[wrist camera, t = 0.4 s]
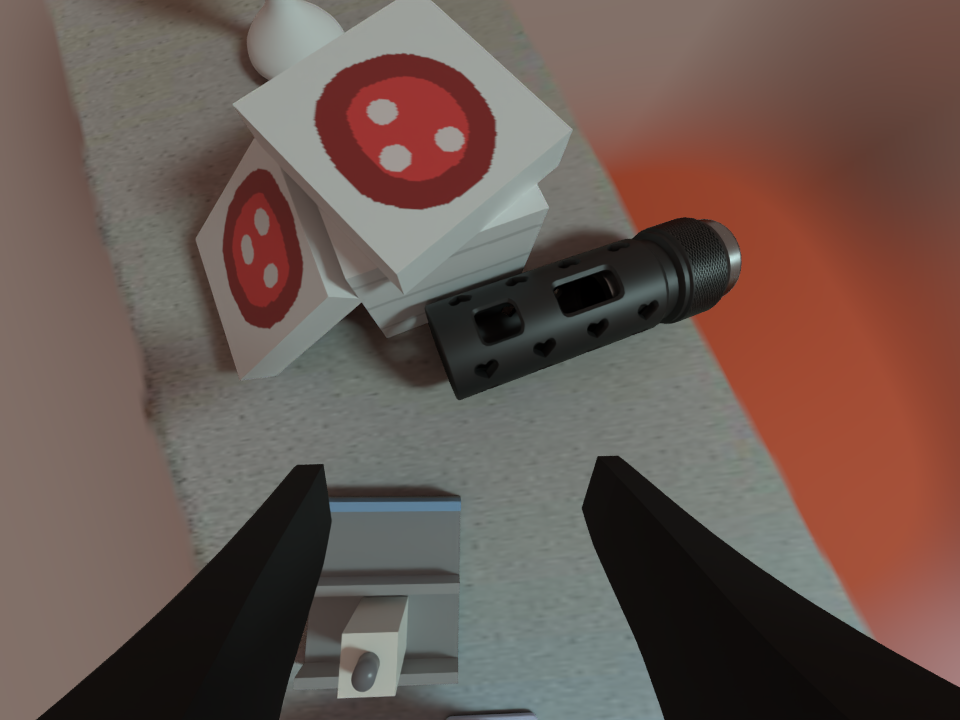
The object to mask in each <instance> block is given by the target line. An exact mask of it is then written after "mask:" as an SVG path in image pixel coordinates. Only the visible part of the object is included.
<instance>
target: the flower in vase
mask: <svg viewBox="0 0 960 720" xmlns="http://www.w3.org/2000/svg"><path fill="white" fill-rule="evenodd" d="M342 34H344V31H343V29H342V28H341V26H340V25H339V23H338V22H337V21H336V20H335V18H334V17H333V16H331V15H330V14H329V13H327V12H326V11H324V10H323V9H321V8H320V7H318V6H316V5H314V4H312V3H309V2H307V1H304V0H265V4H264V6H263V7H262V8H261V10H260V11H259V12H258V14H257V15H256V16H255V18H254V20H253V21H252V24H251V26H250V29H249V32H248V35H247V49H248V55H249V58H250V61H251V63H252V65H253V67H254V68H255V69H256V70H257V72H258V73H259V74H261V75H262V76H263V77H264V78H266V79H267V80H269V81H270V80H271V79H273V78H274V77H276V76H277V75H279V74H281V73H282V72H284V71H285V70H287V69H288V68H290V67H292V66H293V65H295V64H296V63H298V62H299V61H301V60H303V59H304V58H306V57H307V56H309V55H310V54H312V53H314V52H315V51H317V50H318V49H320V48H321V47H323V46H325V45H326V44H328V43H329V42H331V41H333V40H334V39H336V38H337V37H339V36H340V35H342Z"/></svg>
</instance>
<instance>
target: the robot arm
mask: <svg viewBox="0 0 960 720" xmlns="http://www.w3.org/2000/svg"><path fill="white" fill-rule="evenodd" d="M582 511H583V514H584V517H585V521H586V524H587V527H588V530H589V533H590V536H591V539H592V542H593V545H594V548H595V550H596V552H597V555H598V557H599V559H600V562H601V564H602V566H603V568H604V571H605V573H606V575H607V577H608V579H609V582H610V584H611V586H612V588H613V590H614V593H615V595H616V597H617V599H618V602H619V604H620V606H621V608H622V610H623V613H624V615H625V617H626V619H627V621H628V624H629V626H630V628H631V630H632V632H633V635H634V637H635V640H636V642H637V644H638V647H639V649H640V652H641V654H642V657H643V659H644V662H645V665H646V668H647V671H648V673H649V676H650V679H651V682H652V685H653V687H654V690H655V693H656V696H657V699H658V701H659V704H660V707H661V710H662V713H663V716H664V719H665V720H960V687H958V686H956V685H954V684H952V683H950V682H948V681H947V680H945V679H943V678H941V677H939V676H938V675H936V674H934V673H932V672H930V671H928V670H926V669H925V668H923V667H921V666H919V665H917V664H916V663H914V662H912V661H910V660H908V659H907V658H905V657H903V656H901V655H899V654H897V653H896V652H894V651H892V650H890V649H889V648H887V647H885V646H883V645H882V644H880V643H878V642H877V641H875V640H873V639H871V638H870V637H868V636H866V635H864V634H863V633H861V632H859V631H858V630H856V629H854V628H853V627H851V626H849V625H848V624H846V623H845V622H843V621H841V620H840V619H838V618H836V617H835V616H833V615H831V614H830V613H828V612H826V611H825V610H823V609H822V608H820V607H818V606H817V605H815V604H814V603H812V602H810V601H809V600H807V599H806V598H804V597H803V596H801V595H799V594H798V593H796V592H795V591H793V590H792V589H790V588H789V587H787V586H786V585H784V584H783V583H782V582H780V581H779V580H777V579H776V578H774V577H773V576H771V575H770V574H768V573H767V572H765V571H764V570H762V569H761V568H759V567H758V566H757V565H755V564H754V563H752V562H751V561H750V560H748V559H747V558H745V557H744V556H743V555H741V554H740V553H738V552H737V551H736V550H735V549H733V548H732V547H731V546H729V545H728V544H727V543H725V542H724V541H723V540H721V539H720V538H719V537H717V536H716V535H715V534H713V533H712V532H711V531H709V530H708V529H707V528H706V527H704V526H703V525H702V524H701V523H699V522H698V521H697V520H695V519H694V518H693V517H692V516H691V515H689V514H688V513H687V512H686V511H684V510H683V509H682V508H681V507H679V506H678V505H677V504H676V503H675V502H673V501H672V500H671V499H670V498H669V497H667V496H666V495H665V494H664V493H663V492H661V491H660V490H659V489H658V488H657V487H656V486H654V485H653V484H652V483H651V482H650V481H648V480H647V479H646V478H645V477H644V476H642V475H641V474H640V473H639V472H638V471H637V470H635V469H634V468H633V467H632V466H630V465H629V464H628V463H627V462H626V461H624V460H623V459H622V458H620V457H619V456H598V457H597V460H596V463H595V467H594V470H593V473H592V476H591V480H590V483H589V486H588V489H587V493H586V496H585V499H584V502H583V506H582ZM331 524H332V518H331V511H330V504H329V498H328V491H327V485H326V478H325V471H324V465H323V464H310V465H296V466H295V467H294V468H293V469H292V470H291V471H290V473H289V474H288V475H287V476H286V477H285V479H284V480H283V481H282V482H281V483H280V485H279V486H278V487H277V488H276V489H275V490H274V492H273V493H272V494H271V495H270V496H269V497H268V499H267V500H266V501H265V502H264V503H263V504H262V506H261V507H260V508H259V509H258V510H257V511H256V512H255V514H254V515H253V516H252V517H251V518H250V519H249V520H248V521H247V522H246V524H245V525H244V526H243V527H242V528H241V529H240V530H239V531H238V532H237V533H236V534H235V536H234V537H233V538H232V539H231V540H230V541H229V542H228V543H227V544H226V545H225V546H224V548H223V549H222V550H221V551H220V552H219V553H218V554H217V555H216V556H215V557H214V558H213V559H212V560H211V561H210V562H209V563H208V564H207V565H206V566H205V567H204V568H203V569H202V570H201V571H200V572H199V573H198V574H197V575H196V576H195V577H194V578H193V579H192V580H191V581H190V582H189V583H188V584H187V586H186V587H184V589H183V590H182V591H180V592H179V593H178V594H177V596H175V597H174V598H173V599H172V600H171V601H170V602H169V603H168V604H167V605H166V606H165V607H164V608H163V609H162V610H161V611H160V612H159V613H157V615H155V617H153V618H152V619H151V620H150V621H149V622H148V623H147V624H146V625H145V626H144V627H143V628H141V630H139V631H138V632H137V633H136V634H135V635H134V636H133V637H132V638H130V639H129V640H128V641H127V642H126V643H125V644H124V645H123V646H122V647H121V648H119V649H118V650H117V651H116V652H115V653H114V654H113V655H111V656H110V657H109V658H108V659H107V660H106V661H104V662H103V663H102V664H101V665H100V666H99V667H98V668H96V669H95V670H94V671H93V672H92V673H91V674H89V675H88V676H87V677H86V678H85V679H84V680H82V681H81V682H80V683H79V684H78V685H77V686H76V687H74V689H72V690H71V691H70V692H69V693H67V694H66V695H65V696H64V697H63V698H62V699H61V700H59V701H58V702H57V703H56V704H54V705H53V706H52V707H51V708H50V709H48V710H47V711H46V712H45V713H44V714H43V715H41V716H40V717H39V718H38V719H36V720H279V717H280V713H281V708H282V704H283V699H284V696H285V692H286V688H287V684H288V681H289V677H290V673H291V670H292V667H293V663H294V660H295V657H296V654H297V650H298V647H299V644H300V641H301V637H302V634H303V631H304V628H305V624H306V621H307V618H308V615H309V611H310V608H311V605H312V601H313V598H314V595H315V592H316V588H317V585H318V582H319V578H320V575H321V572H322V568H323V565H324V560H325V555H326V550H327V545H328V540H329V535H330V529H331ZM446 720H537V717H536V715H535V714H534V713H511V714H489V715H466V716H450V717H448V718H447V719H446Z"/></svg>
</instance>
